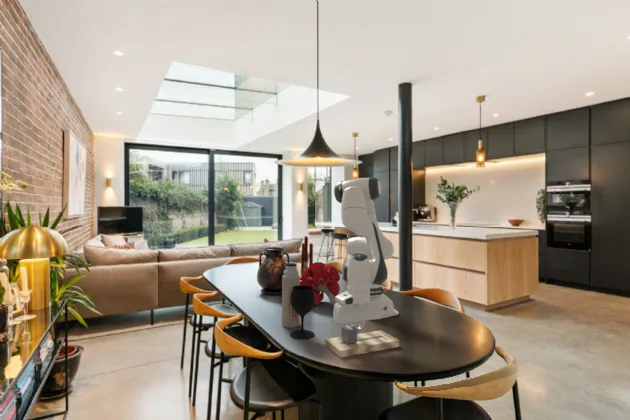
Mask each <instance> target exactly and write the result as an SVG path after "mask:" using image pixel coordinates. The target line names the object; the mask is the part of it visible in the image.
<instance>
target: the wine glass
mask: <svg viewBox="0 0 630 420" xmlns="http://www.w3.org/2000/svg"><path fill="white" fill-rule="evenodd" d="M290 302H291V306H292V308H293V310H294V311H295V312H296V313H297V314H299V317H300V329H296V330H293V331H290V333H289V336H290V337H291V338H292V339H294V340H310V339H312V338H314V337H315V332H313V331H312V330H308V329H304V322H305V321H304V320H305V316H306V315H308V314H309V313H310V312H311V311H312V309H313V308H314V306H315V304H314V303H315V294H314V289H313V287H312V286H307V285H299V286H294V287H293V288H292V291H291V295H290Z"/></svg>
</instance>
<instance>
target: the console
mask: <svg viewBox="0 0 630 420" xmlns="http://www.w3.org/2000/svg"><path fill="white" fill-rule="evenodd" d="M324 342H325V343H324V344H325V347H326V348H327V349H329V350H330V351H331V352H333V354H335V355H336V356H337V357H338V358H341V359H342V358H346V357H352V356H357V355H362V354H367V353H373V352H378V351H385V350H388V349H395V348H398V347H400V339H398V338H396V337H394V336H392V335H391V334H388V333H387V332H385V331H383V330H375V331H367V332H361V333H357V343H351V344H347V343H346V342H344V341H343V340H342V339H341V336H336V337H331V338H325V339H324Z"/></svg>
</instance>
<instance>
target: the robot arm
mask: <svg viewBox="0 0 630 420" xmlns="http://www.w3.org/2000/svg"><path fill="white" fill-rule="evenodd" d="M381 193H382V184H381V182H380V179H378V178H377V177H373V176H372V177H371V176H369V177H357V178H353V179H349V180H342V181H339V182H337V183H336V184H335V185H334V190H333V194H334V195H333V196H334V198H335V200H336V202H338V203H339V204H340V205H341V207H340V209H341V211H340V214H341V222H342V225H343V226H344V228H346V229H347V230H348V231H350V232H352V233H354V234H358V235H360V236H354V237H350V238H349V239H348V240H347V242H346V244H345V245H346V246H345V247H346V248H345V249H346V252H347V254H348V255H349V256H348V259H347V260H346V261H344V262H343V264H342V265H341V267H342V274H341V275H342V276H341V279H342V280H343V281H344V282H346V283H347V287H346V290H345V291H343V292H342V293H338V295H337V296H336V297H335V301H336V302H337V303H335V305H334V307H333V311H332V312H333V313H332V319H333V322H334V323H336V324H337V325H345V324H346V325H347V324H350V325H351V326H353V327H354V328H356V329H357V334H361V333H363V328H364V326H365V324H366V321H372V320H373V321H374V320H381V319H387V318H390V317H394V316H398V315H399V311H398V310H396V309H395V307H394V302H393V300H391V299H390V297H388V296H387V295H386V294H384V293H385V292H387V290H388V289H387V287H384V286H383V287H382V286H381V285H382V284H384V283H385V282H386V281H387V279H388V276H389V275H388V274H389V273H388V267H387V264H386V261H387V260H390V259H391V258H392V257H393V255H394V252H395V251H394V250H395V248H394V244H393V243H392V241H391V240H390V239H388V238H387V237H386V236H385V235H384V234H383V232H382V231H381V229H380V226H379V223H378V220H377V214H376V206H375V202H374V201H376V200H377V199H379V198H380V197H381ZM358 323H359V324H358ZM357 324H358V326H357Z"/></svg>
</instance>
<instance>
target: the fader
mask: <svg viewBox="0 0 630 420" xmlns="http://www.w3.org/2000/svg"><path fill="white" fill-rule="evenodd" d="M357 334H358V333H357V329H356V328H354V327H353V326H352V324H348V325H342V326H341V336H340V337H341V339H342V340H343V341H344V342H346V343H347V344H351V343H357Z"/></svg>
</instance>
